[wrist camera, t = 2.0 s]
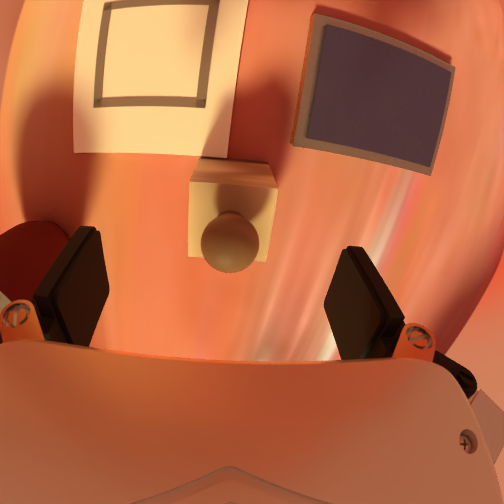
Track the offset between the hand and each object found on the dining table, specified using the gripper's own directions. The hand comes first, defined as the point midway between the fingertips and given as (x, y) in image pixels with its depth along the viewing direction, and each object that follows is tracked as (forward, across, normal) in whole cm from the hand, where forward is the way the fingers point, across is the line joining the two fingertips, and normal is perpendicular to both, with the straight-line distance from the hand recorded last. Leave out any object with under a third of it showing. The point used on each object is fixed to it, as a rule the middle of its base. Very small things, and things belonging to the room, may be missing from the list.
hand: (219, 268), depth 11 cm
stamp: (+10, -1, +1) cm, 10 cm away
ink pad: (+10, -10, -7) cm, 16 cm away
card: (+11, +5, -8) cm, 15 cm away
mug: (+11, +14, +8) cm, 20 cm away
